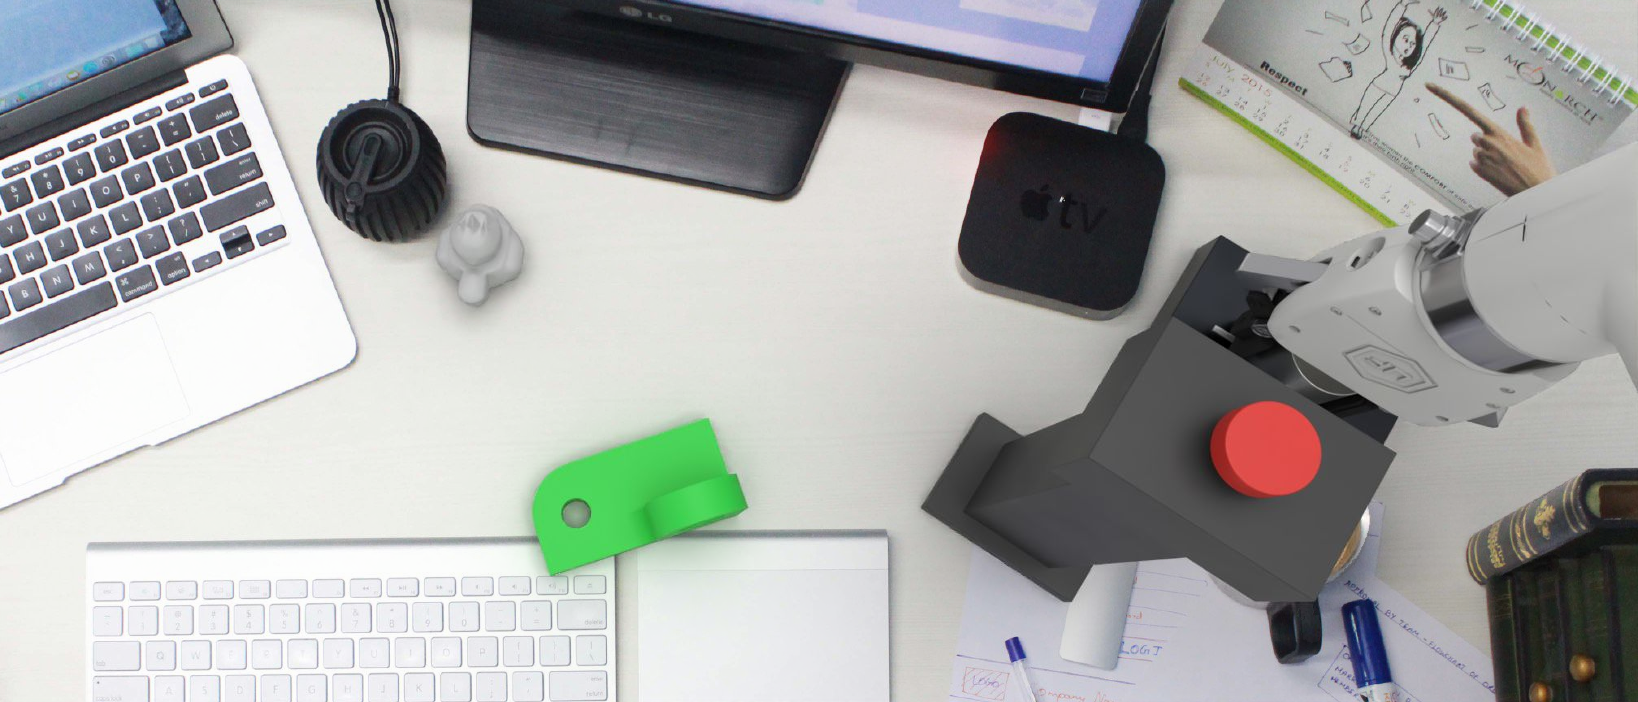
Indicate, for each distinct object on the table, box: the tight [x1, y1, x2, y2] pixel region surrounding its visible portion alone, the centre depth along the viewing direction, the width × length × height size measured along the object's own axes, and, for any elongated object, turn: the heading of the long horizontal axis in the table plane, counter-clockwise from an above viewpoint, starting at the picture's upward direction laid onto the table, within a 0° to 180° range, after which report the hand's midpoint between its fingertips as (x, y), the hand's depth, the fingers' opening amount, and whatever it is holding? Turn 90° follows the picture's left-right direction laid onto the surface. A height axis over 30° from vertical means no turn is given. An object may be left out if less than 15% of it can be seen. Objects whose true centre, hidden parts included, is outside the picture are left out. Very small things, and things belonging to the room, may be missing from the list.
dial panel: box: [1149, 234, 1400, 445], centre depth 73 cm, size 14×11×3 cm
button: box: [1211, 401, 1321, 498], centre depth 46 cm, size 4×4×1 cm
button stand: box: [920, 316, 1398, 603], centre depth 60 cm, size 10×7×26 cm
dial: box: [1242, 340, 1357, 404], centre depth 68 cm, size 5×5×6 cm
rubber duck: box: [435, 203, 525, 308], centre depth 73 cm, size 5×7×8 cm
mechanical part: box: [531, 417, 749, 577], centre depth 69 cm, size 12×6×8 cm, turn 108°
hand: (1291, 365), depth 70 cm, fingers open, 5 cm apart
